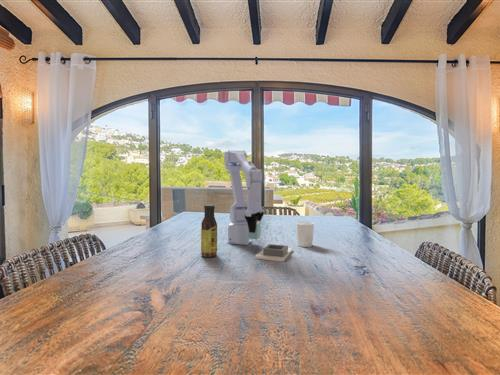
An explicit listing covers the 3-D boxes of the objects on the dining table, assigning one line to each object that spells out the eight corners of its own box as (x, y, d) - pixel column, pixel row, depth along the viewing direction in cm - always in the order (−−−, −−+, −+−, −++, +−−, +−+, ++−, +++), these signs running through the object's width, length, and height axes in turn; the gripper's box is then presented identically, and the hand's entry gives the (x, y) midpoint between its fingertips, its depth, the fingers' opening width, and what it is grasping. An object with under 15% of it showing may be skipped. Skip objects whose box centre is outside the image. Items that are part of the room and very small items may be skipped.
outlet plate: (255, 258, 116) (255, 249, 116) (267, 248, 131) (267, 240, 131) (283, 261, 112) (283, 252, 112) (292, 250, 127) (292, 242, 127)
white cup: (312, 243, 140) (313, 221, 139) (314, 247, 132) (314, 225, 132) (295, 242, 141) (295, 221, 140) (296, 247, 133) (296, 224, 132)
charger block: (247, 238, 125) (248, 221, 125) (251, 236, 129) (251, 220, 129) (257, 239, 124) (257, 222, 124) (260, 237, 128) (260, 220, 127)
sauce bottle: (214, 258, 116) (214, 206, 114) (198, 257, 117) (198, 205, 116) (219, 253, 122) (219, 204, 121) (204, 252, 123) (204, 203, 122)
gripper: (257, 200, 117) (257, 235, 118) (268, 197, 131) (268, 228, 132) (240, 200, 120) (240, 234, 121) (253, 196, 133) (253, 227, 134)
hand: (254, 231), depth 126 cm, fingers closed on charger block, 4 cm apart
